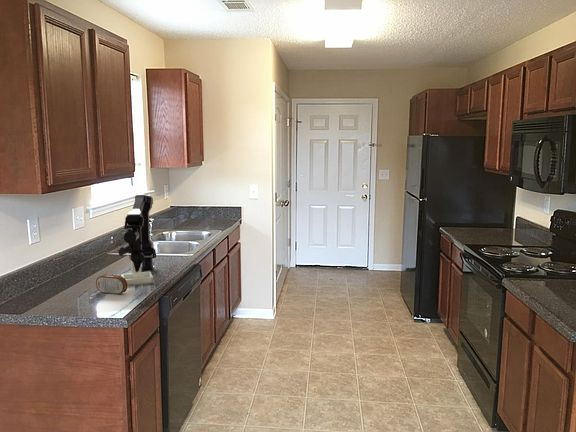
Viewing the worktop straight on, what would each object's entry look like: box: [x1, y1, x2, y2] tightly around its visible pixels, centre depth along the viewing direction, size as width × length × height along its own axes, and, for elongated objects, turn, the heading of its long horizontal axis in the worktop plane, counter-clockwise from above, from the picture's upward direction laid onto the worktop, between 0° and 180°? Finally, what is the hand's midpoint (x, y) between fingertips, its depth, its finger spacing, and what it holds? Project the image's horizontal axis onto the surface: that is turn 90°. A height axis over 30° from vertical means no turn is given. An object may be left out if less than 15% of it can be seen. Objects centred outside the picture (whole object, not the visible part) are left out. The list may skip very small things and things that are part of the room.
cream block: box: [131, 261, 142, 277], centre depth 230 cm, size 4×4×9 cm
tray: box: [120, 271, 154, 287], centre depth 231 cm, size 12×14×3 cm
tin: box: [95, 273, 129, 295], centre depth 212 cm, size 15×3×8 cm, turn 74°
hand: (136, 270), depth 230 cm, fingers closed on cream block, 4 cm apart
